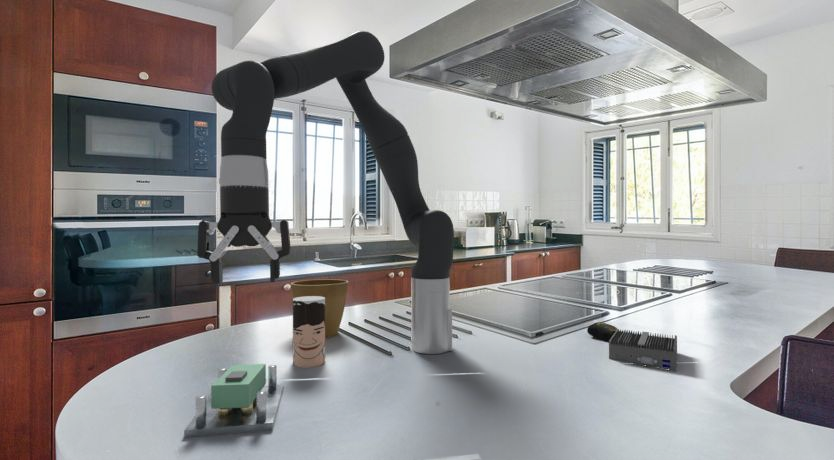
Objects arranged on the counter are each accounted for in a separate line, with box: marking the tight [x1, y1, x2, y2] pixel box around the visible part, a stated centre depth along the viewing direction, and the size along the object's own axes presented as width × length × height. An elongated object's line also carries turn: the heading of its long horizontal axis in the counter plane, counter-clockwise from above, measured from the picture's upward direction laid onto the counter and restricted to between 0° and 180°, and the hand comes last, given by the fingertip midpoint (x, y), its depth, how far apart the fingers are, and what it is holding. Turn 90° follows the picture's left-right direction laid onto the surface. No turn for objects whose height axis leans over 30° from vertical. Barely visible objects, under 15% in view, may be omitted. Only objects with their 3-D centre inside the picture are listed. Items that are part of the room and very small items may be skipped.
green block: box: [210, 363, 267, 409], centre depth 70 cm, size 10×6×4 cm, turn 6°
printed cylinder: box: [292, 296, 326, 368], centre depth 92 cm, size 7×7×15 cm
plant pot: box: [290, 278, 350, 339], centre depth 114 cm, size 15×15×16 cm
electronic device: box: [608, 328, 678, 372], centre depth 99 cm, size 13×15×5 cm
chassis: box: [183, 364, 285, 439], centre depth 70 cm, size 16×12×5 cm
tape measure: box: [586, 322, 618, 343], centre depth 114 cm, size 7×7×4 cm
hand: (246, 282), depth 71 cm, fingers open, 8 cm apart
